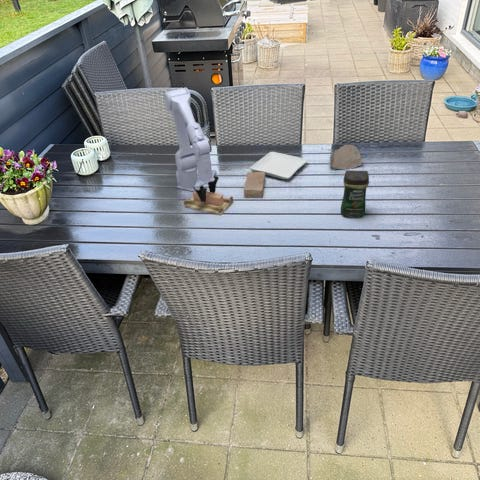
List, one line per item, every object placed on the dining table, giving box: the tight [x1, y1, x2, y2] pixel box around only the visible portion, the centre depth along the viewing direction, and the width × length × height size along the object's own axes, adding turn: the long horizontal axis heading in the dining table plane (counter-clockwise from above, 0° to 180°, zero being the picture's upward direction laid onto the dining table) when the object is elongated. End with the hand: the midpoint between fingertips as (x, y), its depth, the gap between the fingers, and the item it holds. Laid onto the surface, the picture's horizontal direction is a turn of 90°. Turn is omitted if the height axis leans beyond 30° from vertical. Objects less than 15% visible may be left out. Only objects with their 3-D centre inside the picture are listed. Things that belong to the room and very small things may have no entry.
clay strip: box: [192, 190, 224, 207], centre depth 191 cm, size 13×3×4 cm, turn 63°
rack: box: [183, 195, 234, 216], centre depth 192 cm, size 18×11×3 cm, turn 63°
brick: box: [243, 171, 266, 199], centre depth 200 cm, size 16×8×5 cm, turn 174°
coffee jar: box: [340, 170, 370, 218], centre depth 175 cm, size 10×8×19 cm
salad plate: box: [249, 151, 309, 180], centre depth 215 cm, size 21×21×3 cm
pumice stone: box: [329, 144, 364, 171], centre depth 210 cm, size 15×8×10 cm, turn 89°
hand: (207, 196), depth 190 cm, fingers open, 7 cm apart
